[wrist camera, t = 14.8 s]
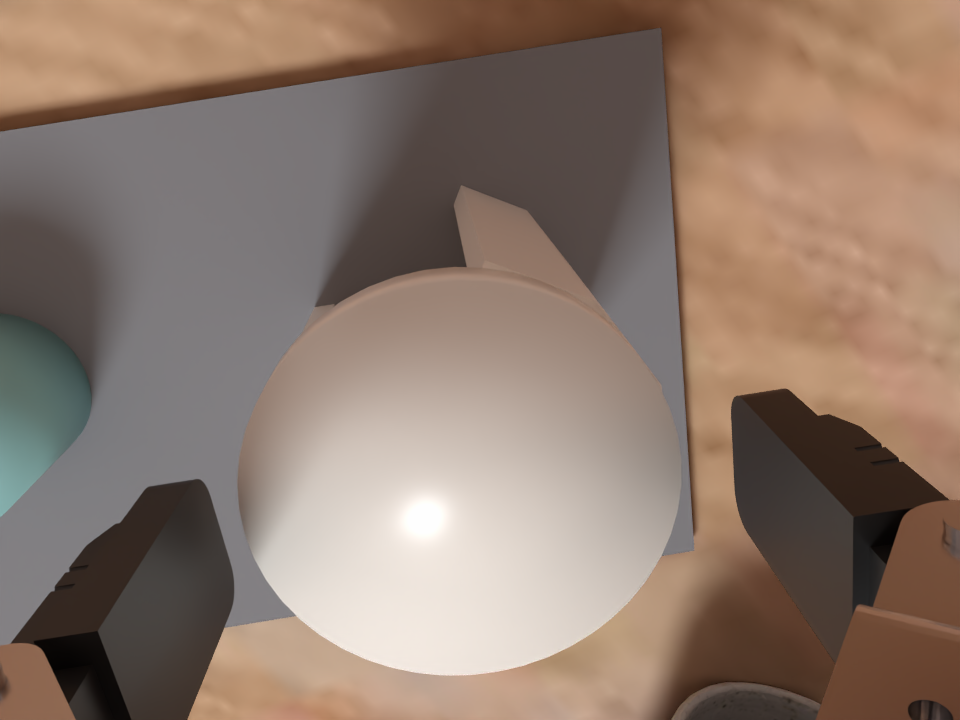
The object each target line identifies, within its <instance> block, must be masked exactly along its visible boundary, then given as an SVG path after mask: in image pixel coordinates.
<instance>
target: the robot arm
mask: <svg viewBox="0 0 960 720" xmlns="http://www.w3.org/2000/svg"><path fill="white" fill-rule="evenodd" d="M731 421H732V442H733V463H734V484H735V496H736V502H737V507H738V511H739V514H740V518H741V520H742V523H743V525H744V528H745V530H746V531H747V533H748V534H749V536H750V537H751V539H752V540H753V542H754V543H755V545H756V546H757V548H758V549H759V551H760V552H761V554H762V555H763V557H764V558H765V560H766V561H767V563H768V564H769V566H770V567H771V569H772V570H773V572H774V573H775V575H776V576H777V578H778V579H779V581H780V582H781V584H782V585H783V587H784V588H785V589H786V591H787V592H788V594H789V595H790V597H791V598H792V600H793V601H794V603H795V604H796V606H797V607H798V609H799V610H800V612H801V613H802V615H803V616H804V618H805V619H806V621H807V622H808V624H809V625H810V627H811V628H812V630H813V631H814V633H815V634H816V636H817V637H818V639H819V640H820V642H821V643H822V645H823V646H824V647H825V649H826V650H827V652H828V653H829V655H830V656H831V658H832V659H833V661H834V662H835V667H834V669H833V672H832V675H831V678H830V681H829V683H828V686H827V689H826V692H825V695H824V698H823V700H822V703H821V706H820V709H819V712H818V714H817V717H816V720H960V500H949V499H948V498H946V497H945V496H944V495H943V494H941V493H940V492H939V491H938V490H937V489H935V488H934V487H933V486H932V485H931V484H929V483H928V482H927V481H926V480H925V479H923V478H922V477H921V476H920V475H918V474H917V473H916V472H915V471H914V470H912V469H911V468H910V467H909V466H908V465H906V464H905V463H904V462H899V459H898V457H897V456H896V455H894V454H893V453H892V452H891V451H889V450H888V449H887V448H886V447H883V448H882V446H881V443H880V442H879V441H877V440H876V439H875V438H874V437H873V436H871V435H870V434H869V433H868V432H866V431H865V430H864V429H863V428H862V427H860V426H858V425H855V424H853V423H850V422H847V421H845V420H842V419H840V418H837V417H835V416H832V415H829V414H827V415H821V416H818V415H816V414H815V413H814V412H813V411H812V410H811V409H810V408H809V407H807V406H806V405H805V404H804V403H803V402H802V401H801V400H800V399H798V398H797V397H796V396H795V395H794V394H793V393H792V392H791V391H789V390H788V389H779V390H772V391H766V392H759V393H753V394H747V395H740V396H736V397H734V399H733V402H732V407H731ZM54 588H55V591H52V592H50V593H49V594H48V596H47V597H46V598H45V599H44V601H43V602H42V603H41V605H40V606H39V607H38V608H37V610H36V611H35V612H34V614H33V615H32V616H31V617H30V619H29V620H28V621H27V623H26V624H25V625H24V627H23V628H22V629H21V630H20V632H19V633H18V634H17V636H16V637H15V638H14V639H13V641H12V642H11V643H10V644H7V645H1V646H0V720H187V719H188V716H189V714H190V711H191V709H192V706H193V704H194V701H195V699H196V696H197V694H198V691H199V689H200V686H201V684H202V681H203V679H204V677H205V674H206V672H207V669H208V667H209V664H210V662H211V659H212V657H213V654H214V652H215V649H216V647H217V644H218V642H219V639H220V637H221V635H222V632H223V630H224V627H225V625H226V622H227V620H228V617H229V615H230V612H231V610H232V606H233V601H234V576H233V570H232V566H231V563H230V559H229V556H228V553H227V549H226V546H225V543H224V539H223V536H222V533H221V529H220V526H219V523H218V519H217V516H216V513H215V510H214V506H213V503H212V500H211V496H210V493H209V491H208V489H207V487H206V485H205V483H204V482H203V481H202V480H200V479H194V480H187V481H181V482H174V483H168V484H161V485H155V486H149V487H147V488H146V489H145V490H144V491H143V493H142V494H141V495H140V497H139V498H138V499H137V501H136V502H135V503H134V505H133V506H132V508H131V509H130V510H129V512H128V513H127V514H126V516H125V517H124V518H123V520H122V521H121V522H120V523H117V524H114V525H113V526H112V527H110V528H109V529H108V530H106V531H105V532H104V533H102V534H101V535H100V536H98V537H97V538H96V539H94V540H93V541H92V542H90V543H89V544H88V545H86V546H85V548H84V549H83V550H82V552H81V553H80V554H79V556H78V557H77V558H76V559H75V561H74V562H73V563H72V565H71V566H70V567H69V572H65V574H64V575H63V576H62V577H61V579H60V580H59V581H58V583H57V584H56V585H55V587H54Z"/></svg>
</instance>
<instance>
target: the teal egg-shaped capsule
mask: <svg viewBox="0 0 960 720" xmlns="http://www.w3.org/2000/svg"><path fill="white" fill-rule="evenodd" d="M91 398H92V396H91V388H90V384H89V380H88V377H87V374H86V372H85V370H84V367H83V366H82V364H81V362H80V360H79V359H78V357H77V356H76V355H75V353H74V352H73V351H72V349H71V348H70V347H69V346H68V345H67V344H66V343H65V342H64V341H63V340H62V339H60V338H59V337H58V336H57V335H56V334H54V333H53V332H51V331H50V330H48V329H47V328H45V327H43V326H41V325H39V324H37V323H36V322H33V321H30V320H28V319H25V318H22V317H18V316H14V315H9V314H2V313H0V517H1V516H2V515H3V514H4V513H6V512H7V511H8V510H9V509H10V508H11V507H12V506H13V504H14V503H15V502H16V501H17V500H18V499H19V498H20V497H21V496H22V495H23V494H24V493H25V492H26V491H27V490H28V489H29V488H30V487H31V486H32V485H33V484H34V483H35V482H36V481H37V480H38V479H39V478H40V477H41V476H42V475H43V474H44V472H45V471H46V470H47V469H48V468H49V467H50V466H51V465H52V464H53V463H54V462H55V461H56V460H57V459H58V458H59V457H60V456H61V455H62V454H63V453H64V452H65V451H66V450H67V449H68V448H69V447H70V446H71V445H72V444H73V443H74V441H75V440H76V439H77V438H78V437H79V436H80V434H81V433H82V432H83V430H84V428H85V426H86V424H87V421H88V419H89V416H90V411H91Z"/></svg>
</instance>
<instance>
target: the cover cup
mask: <svg viewBox="0 0 960 720" xmlns="http://www.w3.org/2000/svg"><path fill="white" fill-rule="evenodd" d="M454 209H455V214H456V218H457V223H458V228H459V233H460V237H461V242H462V247H463V251H464V256H465V261H466V266H467V267H448V268H438V269H428V270H422V271H418V272H413V273H409V274H405V275H400V276H396V277H393V278H390V279H388V280H385V281H383V282H380V283H377V284H375V285H372V286H369V287H367V288H365V289H363V290H361V291H359V292H357V293H356V294H354V295H352V296H350V297H348V298H346V299H344V300H343V301H341V302H339V303H338V304H337V305H335V304H331V305H325V306H319V307H314V309H313V311H312V313H311V315H310V318H309V320H308V322H307V324H306V326H305V328H304V330H303V332H302V334H301V335H300V336H299V337H298V338H297V339H296V340H295V341H294V343H293V344H292V345H291V346H290V348H289V349H288V350H287V352H286V353H285V354H284V355H283V357H282V358H281V359H280V361H279V363H278V364H277V366H276V368H275V369H274V371H273V373H272V375H271V376H270V378H269V380H268V381H267V383H266V385H265V387H264V389H263V391H262V393H261V395H260V397H259V399H258V401H257V402H256V405H255V407H254V410H253V412H252V415H251V417H250V420H249V422H248V425H247V427H246V430H245V434H244V438H243V442H242V447H241V451H240V455H239V466H238V478H237V487H238V502H239V511H240V515H241V520H242V524H243V529H244V533H245V536H246V539H247V541H248V544H249V547H250V549H251V552H252V555H253V557H254V559H255V561H256V563H257V565H258V566H259V568H260V570H261V572H262V574H263V575H264V577H265V579H266V581H267V582H268V583H269V585H270V586H271V587H272V589H273V590H274V591H275V593H276V594H277V595H278V597H279V598H280V599H281V601H282V602H283V603H284V604H285V605H286V606H287V607H288V608H289V609H290V610H291V611H292V612H293V613H294V614H295V615H296V616H297V617H298V618H299V619H300V620H301V621H303V622H304V623H305V624H306V625H308V626H309V627H310V628H312V629H313V630H314V631H315V632H317V633H318V634H319V635H321V636H322V637H324V638H326V639H327V640H329V641H330V642H332V643H334V644H335V645H337V646H339V647H340V648H342V649H344V650H346V651H349V652H351V653H353V654H355V655H357V656H360V657H362V658H364V659H366V660H369V661H372V662H375V663H379V664H382V665H385V666H388V667H391V668H396V669H401V670H405V671H410V672H415V673H424V674H434V675H474V674H483V673H491V672H498V671H502V670H507V669H511V668H516V667H520V666H524V665H526V664H529V663H532V662H535V661H538V660H541V659H544V658H547V657H549V656H551V655H553V654H555V653H558V652H560V651H562V650H564V649H566V648H568V647H570V646H572V645H574V644H575V643H577V642H579V641H580V640H582V639H584V638H585V637H587V636H589V635H590V634H592V633H593V632H595V631H596V630H597V629H598V628H600V627H601V626H602V625H604V624H605V623H606V622H607V621H609V620H610V619H611V618H613V617H614V616H615V615H616V614H617V613H618V612H619V611H620V610H621V609H622V608H623V607H624V606H625V605H626V604H627V603H628V602H629V601H630V600H631V599H632V598H633V597H634V595H635V594H636V593H637V592H638V590H639V589H640V588H641V587H642V585H643V584H644V583H645V582H646V580H647V579H648V577H649V576H650V574H651V572H652V571H653V569H654V568H655V566H656V564H657V563H658V561H659V559H660V558H661V555H662V553H663V551H664V549H665V546H666V544H667V542H668V540H669V537H670V535H671V532H672V529H673V525H674V522H675V518H676V515H677V511H678V506H679V499H680V492H681V454H680V447H679V440H678V434H677V431H676V427H675V424H674V421H673V418H672V414H671V411H670V408H669V406H668V404H667V402H666V400H665V398H664V396H663V394H662V385H661V384H660V382H659V381H658V380H657V378H656V377H655V376H654V375H653V373H652V372H651V371H650V369H649V368H648V367H647V365H646V364H645V363H644V361H643V360H642V359H641V358H640V356H639V355H638V354H637V352H636V351H635V350H634V348H633V347H632V346H631V344H630V343H629V342H628V341H627V339H626V338H625V337H624V335H623V334H622V333H621V331H620V330H619V329H618V327H617V326H616V325H615V323H614V322H613V321H612V320H611V318H610V317H609V316H608V314H607V313H606V312H605V310H604V309H603V308H602V306H601V305H600V304H599V303H598V301H597V300H596V299H595V297H594V296H593V295H592V293H591V292H590V291H589V289H588V288H587V287H586V286H585V284H584V283H583V282H582V280H581V279H580V278H579V276H578V275H577V274H576V272H575V271H574V270H573V269H572V267H571V266H570V265H569V263H568V262H567V261H566V259H565V258H564V257H563V256H562V254H561V253H560V252H559V251H558V249H557V248H556V247H555V245H554V244H553V243H552V242H551V240H550V239H549V238H548V236H547V235H546V234H545V233H544V231H543V230H542V229H541V228H540V226H539V225H538V224H537V222H536V221H535V220H534V219H533V217H532V216H531V215H530V214H529V212H528V211H527V210H525V209H522V208H519V207H517V206H514V205H512V204H509V203H506V202H504V201H501V200H498V199H496V198H493V197H491V196H488V195H485V194H483V193H480V192H478V191H475V190H472V189H470V188H467V187H465V186H462V185H461V186H460V189H459V192H458V195H457V197H456V200H455V203H454Z"/></svg>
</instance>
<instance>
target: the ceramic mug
mask: <svg viewBox="0 0 960 720" xmlns="http://www.w3.org/2000/svg"><path fill="white" fill-rule="evenodd" d="M820 706H821V704H820V703H818V702H815V701H813V700H811V699H809V698H806V697H804V696H801V695H798V694H795V693H793V692H790V691H787V690H784V689H780V688H776V687H772V686H767V685H762V684H757V683H745V682H725V683H719V684H714V685H711V686H708V687H705V688H703V689H701V690H699V691H697V692H695V693H693V694H692V695H690V696H689V697H688V698H687V699H686V700H685V701H684V702H683V703H682V704H681V705H680V706H679V707H678V709H677V711H676V713H675V714H674V716H673V718H672V719H671V720H816V717H817V714H818V712H819V709H820Z"/></svg>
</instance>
